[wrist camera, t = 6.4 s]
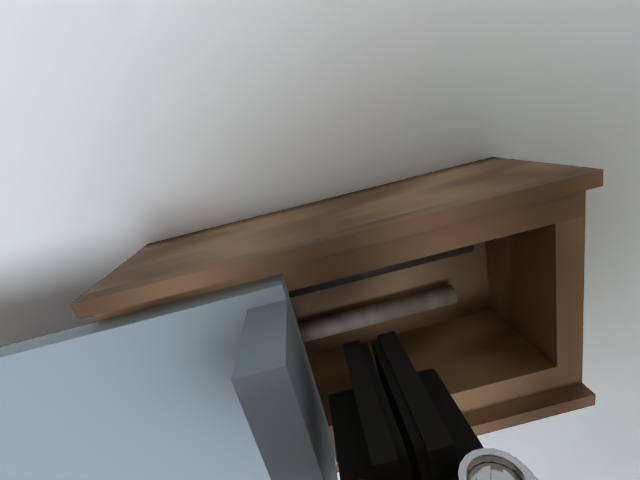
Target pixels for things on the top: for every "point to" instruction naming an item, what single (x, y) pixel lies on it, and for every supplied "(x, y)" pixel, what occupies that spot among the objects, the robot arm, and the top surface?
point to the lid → (169, 395)
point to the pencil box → (410, 281)
